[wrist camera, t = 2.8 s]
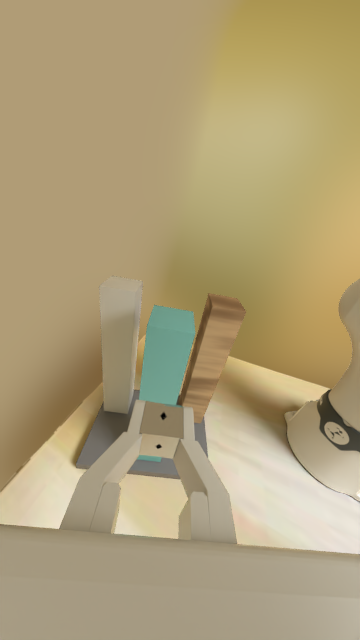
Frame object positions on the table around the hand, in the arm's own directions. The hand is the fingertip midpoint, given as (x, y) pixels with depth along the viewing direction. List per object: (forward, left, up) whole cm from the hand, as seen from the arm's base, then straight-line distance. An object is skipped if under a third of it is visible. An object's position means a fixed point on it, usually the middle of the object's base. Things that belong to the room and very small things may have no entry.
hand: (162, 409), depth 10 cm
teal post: (-5, -11, -29) cm, 32 cm away
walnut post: (-16, -15, -29) cm, 36 cm away
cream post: (-1, -22, -29) cm, 36 cm away
